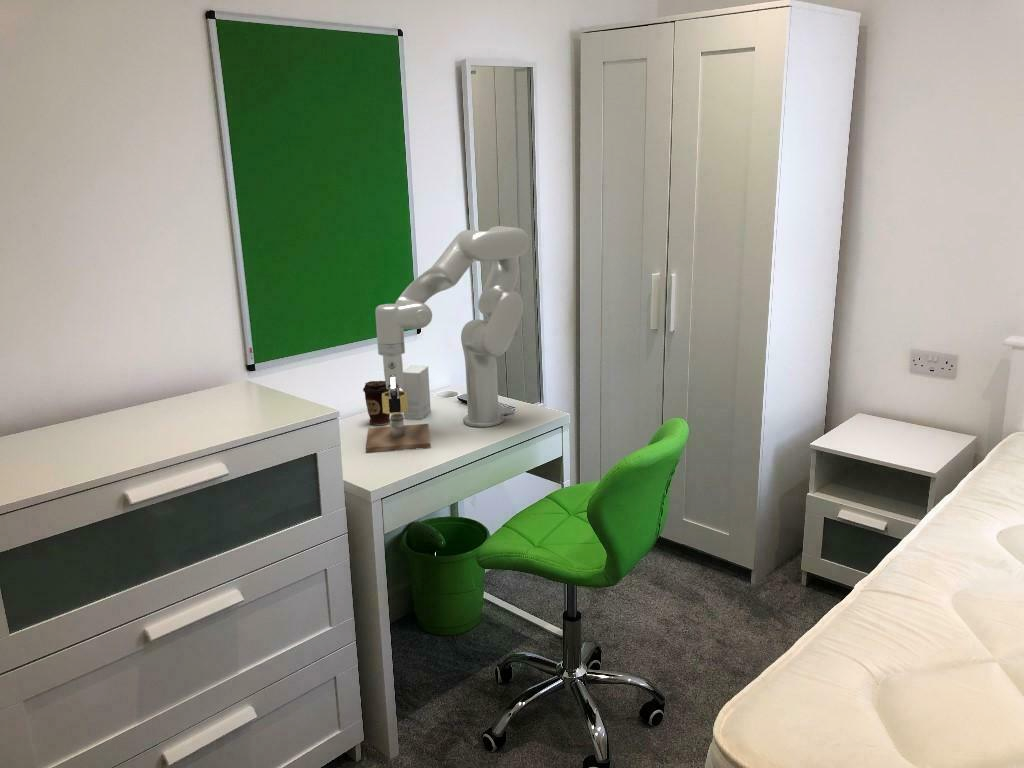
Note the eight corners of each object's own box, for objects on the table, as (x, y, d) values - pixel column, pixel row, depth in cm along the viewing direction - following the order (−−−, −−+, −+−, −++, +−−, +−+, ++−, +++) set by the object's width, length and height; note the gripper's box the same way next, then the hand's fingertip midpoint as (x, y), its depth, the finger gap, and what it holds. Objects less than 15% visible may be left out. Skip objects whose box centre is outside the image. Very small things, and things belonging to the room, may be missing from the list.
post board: (428, 428, 252) (427, 404, 250) (430, 447, 235) (428, 422, 233) (368, 432, 250) (366, 408, 248) (366, 452, 233) (363, 427, 231)
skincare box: (413, 411, 270) (410, 364, 266) (432, 412, 268) (429, 365, 264) (403, 419, 262) (399, 371, 258) (423, 420, 260) (419, 371, 256)
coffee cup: (377, 429, 253) (373, 388, 250) (360, 424, 259) (356, 383, 255) (399, 421, 259) (396, 381, 256) (382, 417, 265) (379, 377, 261)
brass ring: (407, 406, 244) (406, 390, 242) (407, 413, 237) (406, 396, 235) (383, 407, 243) (382, 391, 241) (382, 414, 236) (381, 397, 235)
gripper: (404, 354, 227) (408, 416, 232) (404, 341, 244) (408, 399, 248) (376, 355, 226) (381, 417, 231) (378, 342, 243) (383, 400, 247)
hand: (395, 407), depth 240 cm, fingers closed on brass ring, 7 cm apart
